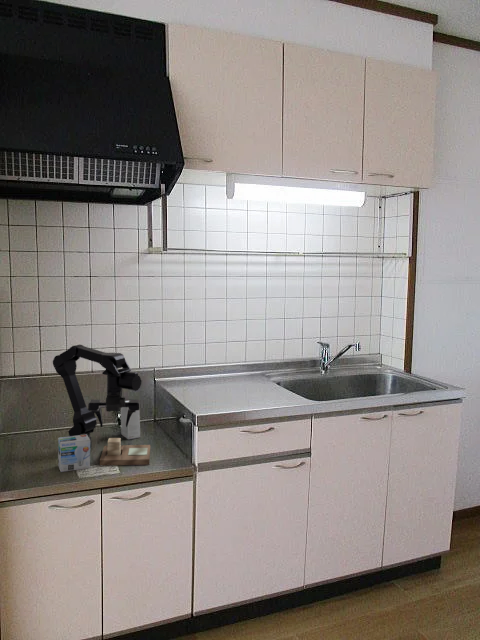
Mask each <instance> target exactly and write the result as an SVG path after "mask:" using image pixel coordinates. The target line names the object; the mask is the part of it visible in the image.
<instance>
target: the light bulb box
mask: <svg viewBox="0 0 480 640" xmlns="http://www.w3.org/2000/svg"><path fill="white" fill-rule="evenodd" d="M57 439H58V440H57V445H58V446H57V452H58V453H57V457H58V458H57V462H58V463H57V465H58V469H59V470H60V471H59V472H60V473H63V472H64V473H65V472H69V471H71V472H72V471H77V470H78V471H79V470H85V469H90V468H91V449H90V439H89V437H88V435H87V434H85V435H77V436H69V435H68V436H63V437H62V436H60V437H58V438H57Z"/></svg>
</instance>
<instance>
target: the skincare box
mask: <svg viewBox="0 0 480 640" xmlns="http://www.w3.org/2000/svg"><path fill="white" fill-rule="evenodd" d="M125 402H129V400H125ZM127 414H128V407H122V408H120V434H121V435H122V436H123V437H124V438H125V439H126V440H131V439H133V440H134V439H139V438H141V419H140V418H141V417H140V416H141V415H140V409H139V410H136V412H133V413H132V415H131V417H130V420H129V423H128V426H127V427H126V420H127Z"/></svg>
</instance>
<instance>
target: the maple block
mask: <svg viewBox="0 0 480 640" xmlns="http://www.w3.org/2000/svg"><path fill="white" fill-rule="evenodd" d="M121 440H122V438H121V437H108V440H107V446H108V455H107V456H111V455H122V454H121V444H122V443H121V442H122V441H121Z"/></svg>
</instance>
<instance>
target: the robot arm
mask: <svg viewBox="0 0 480 640" xmlns="http://www.w3.org/2000/svg"><path fill="white" fill-rule="evenodd" d="M80 358H82V359H85V360H88V361H91V362H94V363H97V364H99V365H100V366H101V367H102V368H103V369H105V370H104V371H102V372H101V374H102V375H105V376H106V398H105V401H102V402H101V399H90V400H89V402H88V405H86V401H85V399H84V396H83V392H82V389H81V386H80V384H79V380H78V379H77V375H76V372H77V365H78V364H77V362H78V360H80ZM125 358H126V357H125V356H124V354H123V353H121V352H104V351H100V350H97V349H94V348H91V347H88V346H84V345H83V344H75V345H72V346H70V348H68V349H67V350H64V351H63V352H62V353H60V354H57V355H55V356H54V358H53V360H52V366H53V367H54V370H55V372H56V373H57V375H59V376H60V377H61V378H62V380H63V383H64V385H65V389H66V391H67V395H68V398H69V400H70V403H71V407H72V410H73V417H72V425H73V426H72V427H71V428H70V429H69V430H68V436H77V435H85V434H87V435H88V437H89V439H90V450H91V449H92V447H93V446H92V438H93V437H92V436H91V434H92V433H93V432H94V430H95V428H96V426H97V424H98V423H97V420H98V421H99V425H100V428H103V427H104V426H103V425H104V424H103V423H104V422H103V412H102V411H103V410H102V409H103V408H105V411H106V412H116V413H117V412H119V411H121V408H122V407H128V414H127V420H126V427H127V426H128V423H129V420H130V417H131V415H132V413H133V412H136V410H139V411H140V407H141V406H140V405H141V401H140V399H129V400H128V401H129V402H125V401H126V397H123V389H124V390H129V391H134V392H136V391H139V389H140V388H141V387H142V378H141V376H140V375H139V372H138V371H132V369H131V367H130V366H129V363H128V362H127V360H126V359H125Z"/></svg>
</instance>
